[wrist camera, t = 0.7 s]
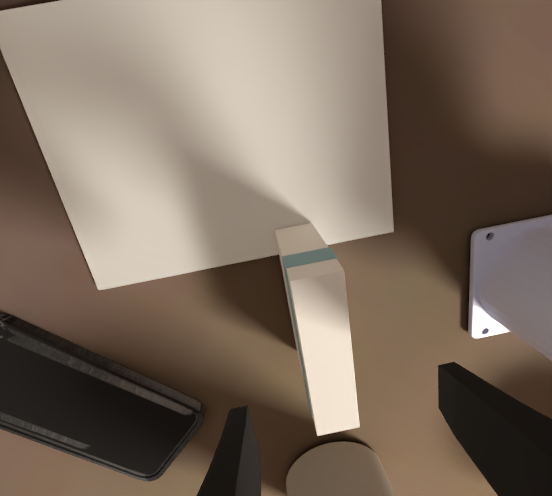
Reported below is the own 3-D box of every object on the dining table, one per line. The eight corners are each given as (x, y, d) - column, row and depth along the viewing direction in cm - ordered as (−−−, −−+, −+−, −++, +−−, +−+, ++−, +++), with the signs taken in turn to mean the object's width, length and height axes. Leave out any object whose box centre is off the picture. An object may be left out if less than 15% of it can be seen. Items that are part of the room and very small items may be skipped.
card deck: (312, 221, 19) (345, 269, 13) (328, 345, 22) (360, 427, 16) (273, 229, 19) (288, 280, 13) (296, 352, 22) (316, 436, 16)
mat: (374, -50, 15) (378, -55, 15) (391, 229, 20) (393, 231, 19) (-8, 16, 15) (-15, 13, 14) (101, 287, 19) (98, 290, 19)
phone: (-16, 313, 18) (209, 415, 22) (-2, 304, 19) (211, 402, 23) (-64, 406, 20) (153, 486, 24) (-49, 393, 21) (157, 471, 25)
